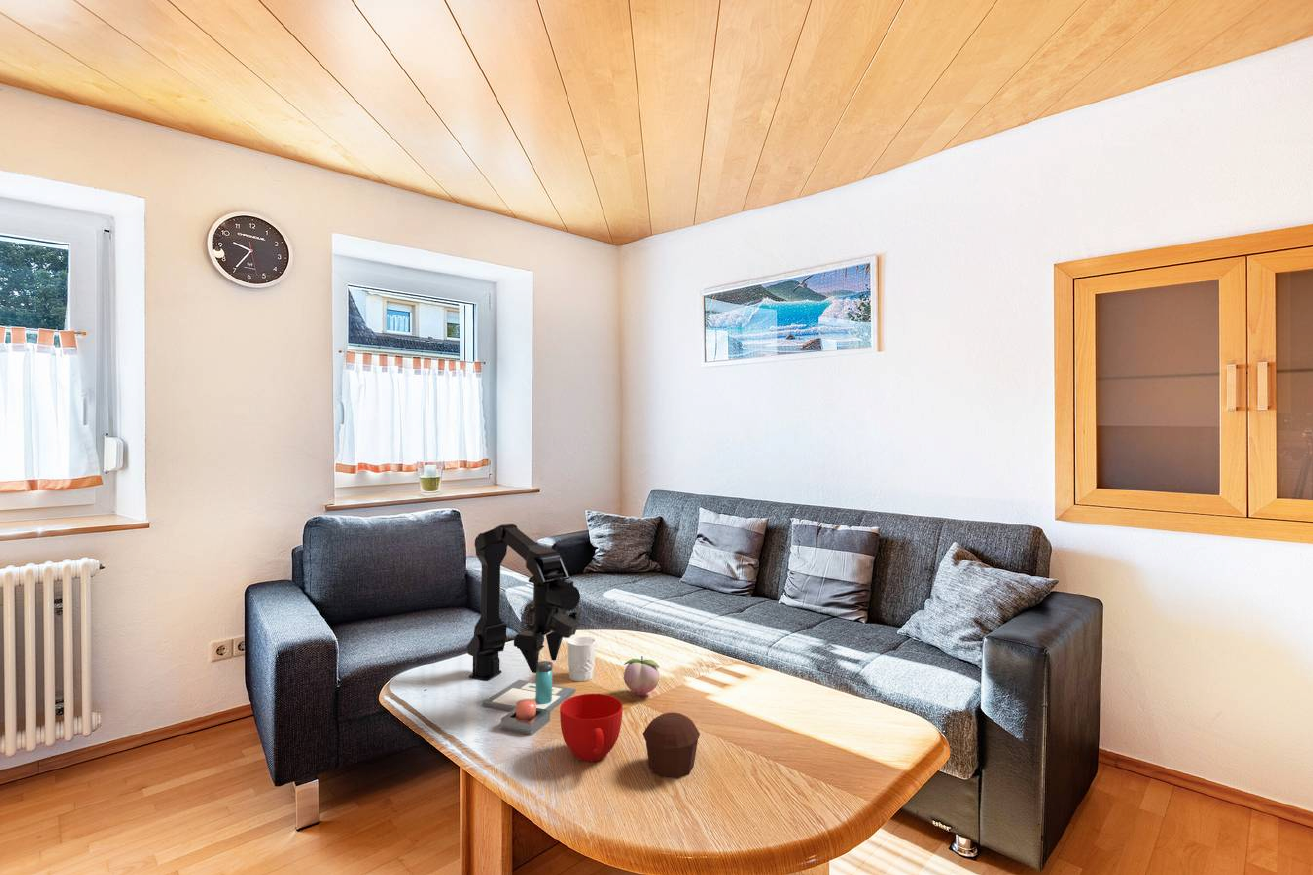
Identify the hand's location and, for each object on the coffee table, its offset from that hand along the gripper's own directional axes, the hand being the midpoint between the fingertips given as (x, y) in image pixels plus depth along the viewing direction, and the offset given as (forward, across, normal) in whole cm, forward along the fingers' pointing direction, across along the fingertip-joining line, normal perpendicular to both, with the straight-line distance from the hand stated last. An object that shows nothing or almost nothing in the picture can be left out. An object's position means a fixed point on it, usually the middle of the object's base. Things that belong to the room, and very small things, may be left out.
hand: (544, 666), depth 156 cm
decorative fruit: (+10, +15, -20) cm, 27 cm away
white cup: (+10, +20, 0) cm, 22 cm away
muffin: (+10, -16, -39) cm, 43 cm away
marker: (+8, 0, 0) cm, 9 cm away
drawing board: (+10, +2, +5) cm, 11 cm away
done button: (+8, -11, -2) cm, 14 cm away
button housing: (+10, -11, -2) cm, 15 cm away
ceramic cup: (+10, -19, -23) cm, 31 cm away
